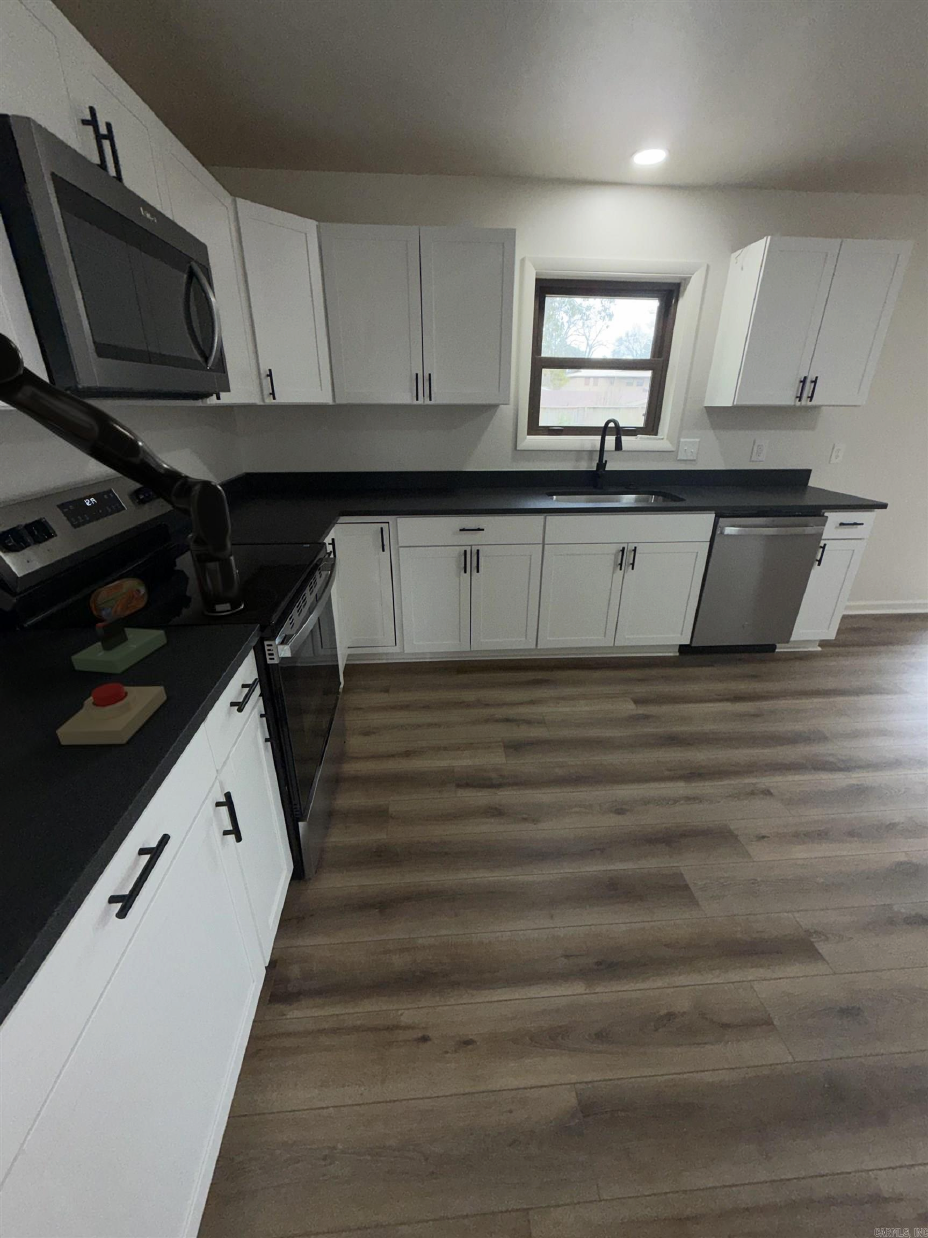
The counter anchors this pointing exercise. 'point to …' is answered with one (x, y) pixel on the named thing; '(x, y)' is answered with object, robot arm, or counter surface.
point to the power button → (108, 694)
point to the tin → (119, 598)
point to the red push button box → (112, 718)
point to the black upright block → (111, 633)
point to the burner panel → (120, 652)
